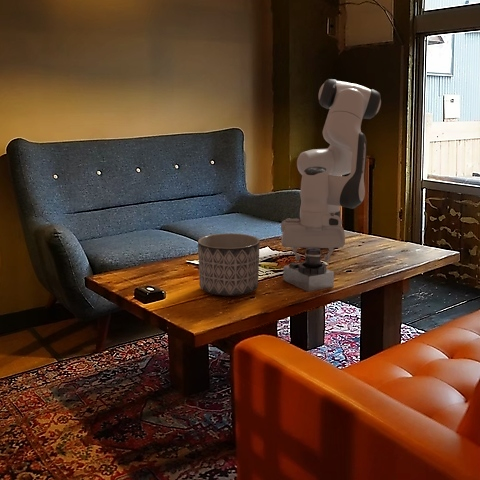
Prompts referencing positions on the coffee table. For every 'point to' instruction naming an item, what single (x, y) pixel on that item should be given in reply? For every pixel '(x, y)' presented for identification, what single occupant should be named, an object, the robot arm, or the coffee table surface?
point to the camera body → (308, 276)
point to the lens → (313, 257)
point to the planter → (228, 263)
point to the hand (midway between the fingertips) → (312, 260)
